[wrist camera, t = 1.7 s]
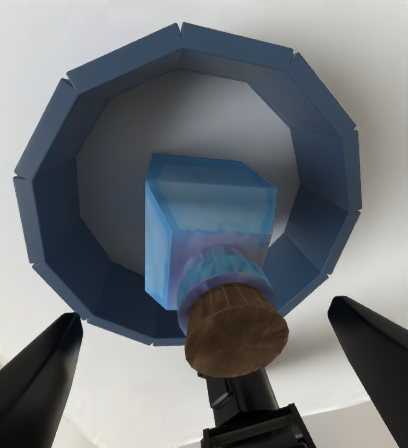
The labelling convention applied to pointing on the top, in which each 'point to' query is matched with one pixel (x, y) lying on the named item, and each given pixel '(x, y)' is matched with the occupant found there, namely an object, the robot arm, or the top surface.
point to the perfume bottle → (213, 260)
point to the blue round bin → (142, 72)
